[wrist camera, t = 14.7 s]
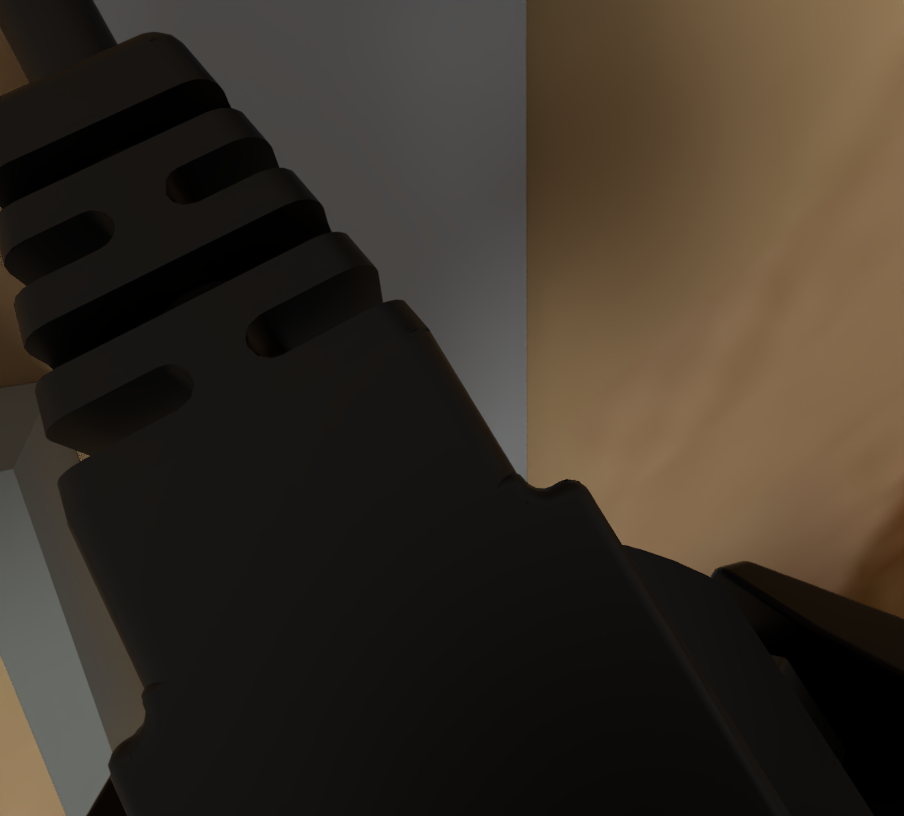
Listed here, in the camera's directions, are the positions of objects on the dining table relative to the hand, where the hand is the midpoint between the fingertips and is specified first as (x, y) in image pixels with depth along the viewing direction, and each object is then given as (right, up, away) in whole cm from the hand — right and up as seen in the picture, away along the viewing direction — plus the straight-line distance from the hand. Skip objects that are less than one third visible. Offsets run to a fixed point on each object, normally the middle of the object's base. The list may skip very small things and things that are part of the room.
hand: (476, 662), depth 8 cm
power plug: (-2, +2, +1) cm, 3 cm away
